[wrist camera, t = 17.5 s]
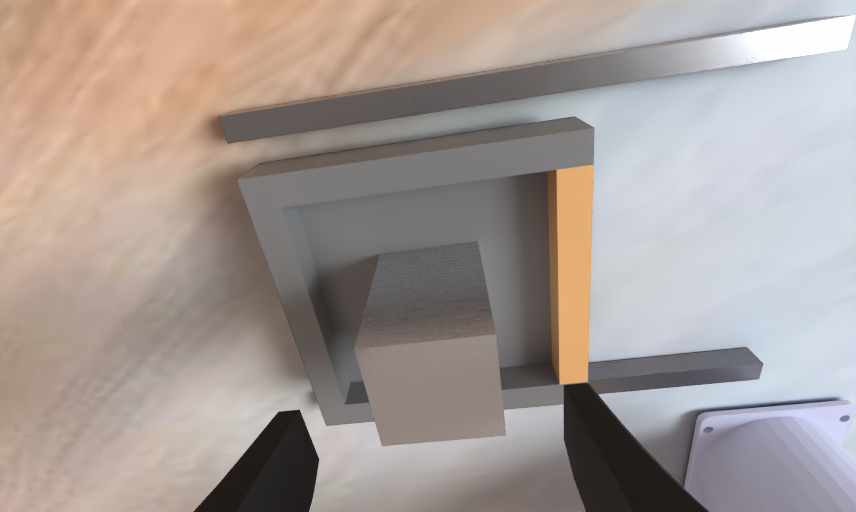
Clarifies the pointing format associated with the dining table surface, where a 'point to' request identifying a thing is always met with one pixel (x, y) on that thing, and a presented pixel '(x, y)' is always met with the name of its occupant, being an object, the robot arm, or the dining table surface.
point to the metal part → (431, 347)
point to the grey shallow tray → (431, 227)
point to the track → (560, 79)
